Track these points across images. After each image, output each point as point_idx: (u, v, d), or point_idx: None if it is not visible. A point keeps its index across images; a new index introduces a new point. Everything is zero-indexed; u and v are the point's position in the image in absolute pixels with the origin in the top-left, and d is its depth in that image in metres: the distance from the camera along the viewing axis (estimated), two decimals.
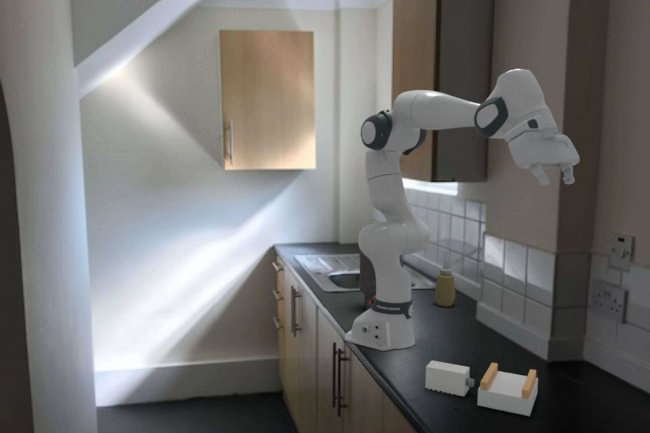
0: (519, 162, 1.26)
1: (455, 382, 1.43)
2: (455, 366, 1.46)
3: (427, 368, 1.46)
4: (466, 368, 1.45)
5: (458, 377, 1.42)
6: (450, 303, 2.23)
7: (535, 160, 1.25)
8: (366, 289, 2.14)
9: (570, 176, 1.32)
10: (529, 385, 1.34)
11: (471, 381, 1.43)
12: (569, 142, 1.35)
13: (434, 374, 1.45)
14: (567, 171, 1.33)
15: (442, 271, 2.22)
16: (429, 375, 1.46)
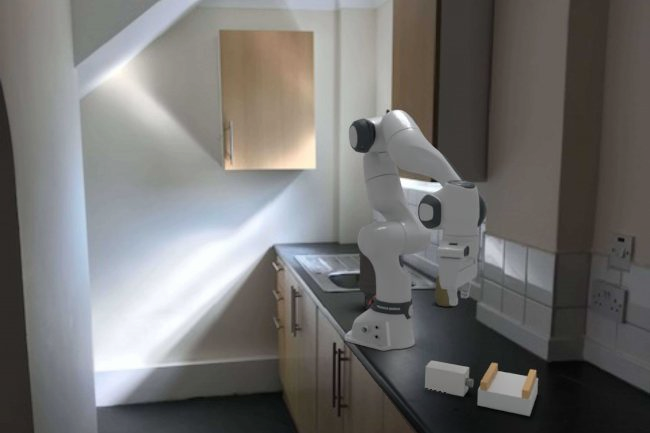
0: (443, 284, 1.33)
1: (454, 382, 1.43)
2: (455, 366, 1.46)
3: (426, 368, 1.46)
4: (466, 368, 1.45)
5: (457, 377, 1.42)
6: None
7: (457, 287, 1.33)
8: (366, 289, 2.14)
9: (467, 293, 1.45)
10: (529, 385, 1.34)
11: (470, 381, 1.43)
12: (476, 258, 1.47)
13: (433, 374, 1.45)
14: (465, 285, 1.46)
15: None
16: (428, 375, 1.46)
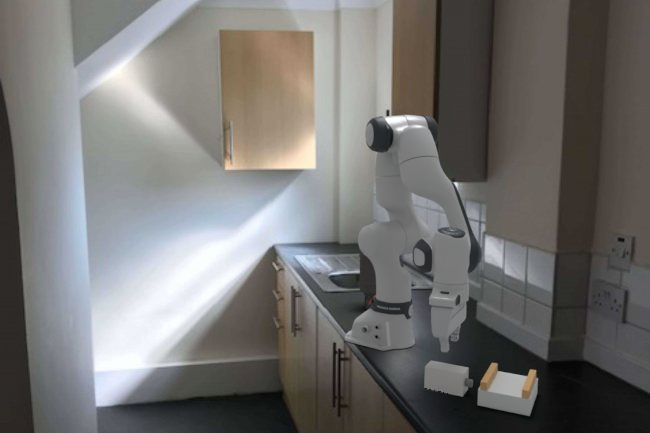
0: (436, 333, 1.36)
1: (454, 382, 1.43)
2: (454, 366, 1.46)
3: (426, 368, 1.46)
4: (465, 368, 1.45)
5: (457, 377, 1.42)
6: None
7: (448, 335, 1.36)
8: (366, 289, 2.14)
9: (457, 336, 1.48)
10: (529, 385, 1.34)
11: (470, 381, 1.43)
12: (465, 301, 1.50)
13: (433, 374, 1.45)
14: (455, 328, 1.49)
15: None
16: (428, 375, 1.46)
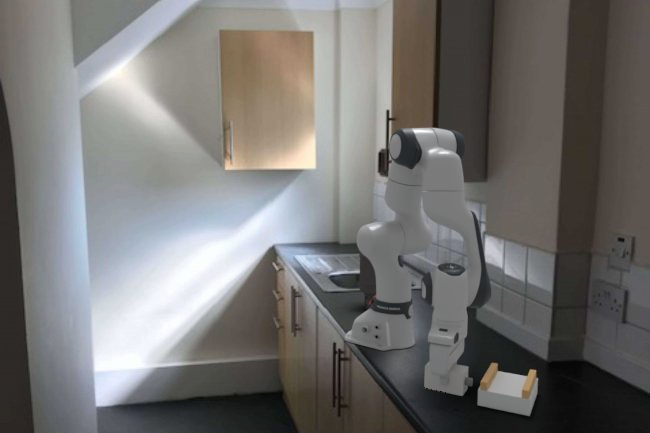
0: (434, 370, 1.37)
1: (454, 381, 1.43)
2: (454, 365, 1.46)
3: (426, 367, 1.46)
4: (465, 367, 1.45)
5: (457, 376, 1.42)
6: None
7: (446, 373, 1.38)
8: (366, 289, 2.14)
9: None
10: (529, 385, 1.34)
11: (470, 380, 1.43)
12: None
13: None
14: None
15: None
16: (428, 374, 1.46)
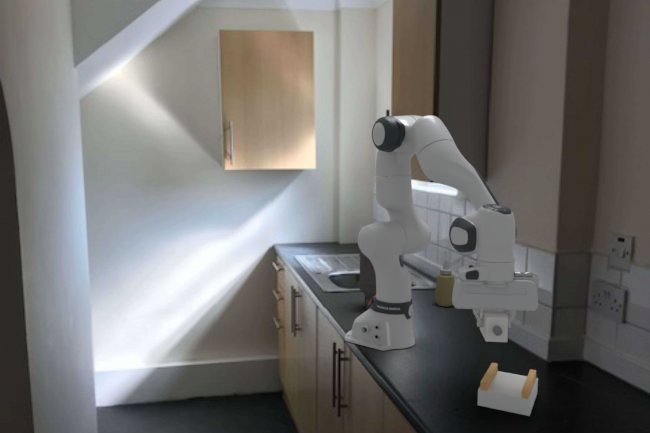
0: (452, 301, 1.41)
1: (484, 325, 1.38)
2: (500, 313, 1.38)
3: None
4: (502, 316, 1.35)
5: (485, 320, 1.37)
6: (450, 303, 2.23)
7: (462, 307, 1.39)
8: (366, 289, 2.14)
9: None
10: (529, 385, 1.34)
11: (494, 328, 1.34)
12: (530, 290, 1.36)
13: (481, 314, 1.43)
14: (510, 315, 1.39)
15: (442, 271, 2.22)
16: (480, 315, 1.44)
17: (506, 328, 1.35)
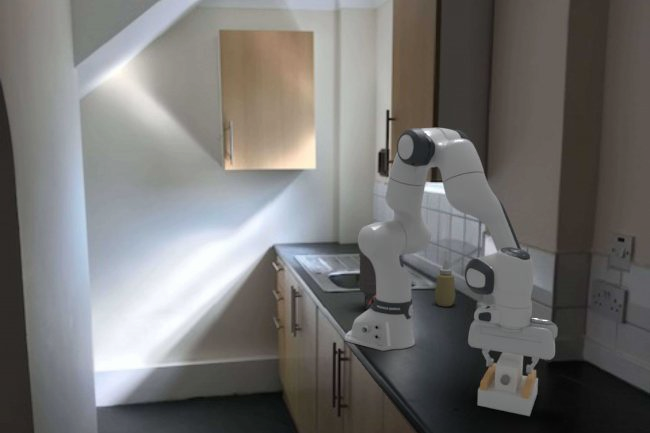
0: None
1: None
2: (514, 362, 1.38)
3: (502, 353, 1.45)
4: (512, 366, 1.35)
5: None
6: (450, 303, 2.23)
7: (476, 346, 1.41)
8: (366, 289, 2.14)
9: (527, 368, 1.37)
10: (529, 385, 1.34)
11: (502, 377, 1.35)
12: (545, 338, 1.33)
13: None
14: (533, 361, 1.37)
15: (442, 271, 2.22)
16: None
17: (515, 378, 1.35)
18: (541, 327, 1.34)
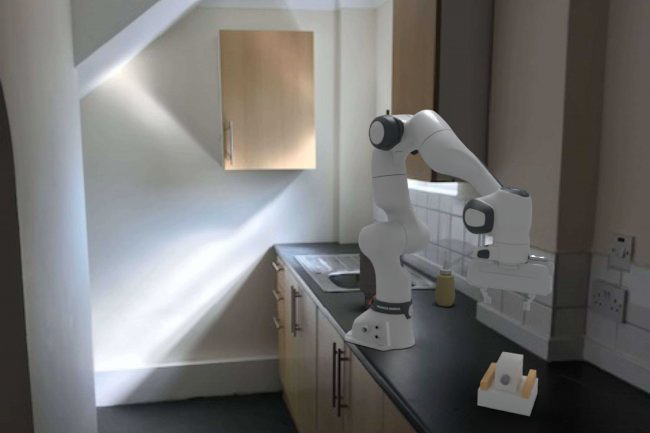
0: None
1: None
2: (514, 362, 1.38)
3: (502, 353, 1.45)
4: (512, 366, 1.35)
5: None
6: (450, 303, 2.23)
7: (474, 284, 1.44)
8: (366, 289, 2.14)
9: (524, 305, 1.40)
10: (529, 385, 1.34)
11: (502, 377, 1.35)
12: (542, 274, 1.36)
13: None
14: (530, 298, 1.40)
15: (442, 271, 2.22)
16: None
17: (515, 378, 1.35)
18: (538, 264, 1.37)
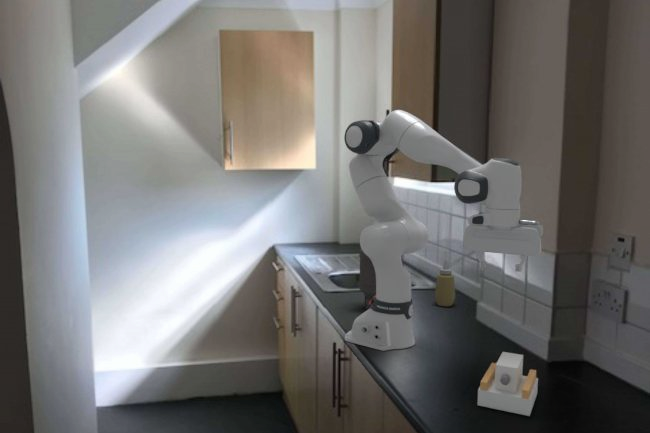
0: None
1: None
2: (514, 362, 1.38)
3: (502, 353, 1.45)
4: (512, 366, 1.35)
5: None
6: (450, 303, 2.23)
7: (470, 249, 1.56)
8: (366, 289, 2.14)
9: (516, 266, 1.51)
10: (529, 385, 1.34)
11: (502, 377, 1.35)
12: (532, 236, 1.48)
13: None
14: (522, 260, 1.51)
15: (442, 271, 2.22)
16: None
17: (515, 378, 1.35)
18: (528, 227, 1.49)
